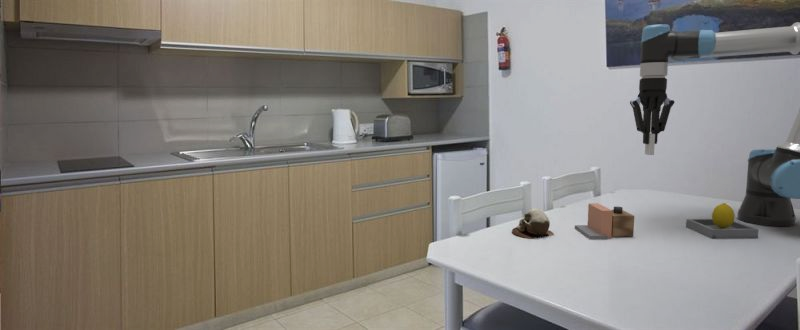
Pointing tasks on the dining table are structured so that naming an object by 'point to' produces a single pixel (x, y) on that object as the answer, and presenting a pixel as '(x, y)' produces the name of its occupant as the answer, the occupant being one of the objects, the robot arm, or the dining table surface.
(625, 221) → the wooden block with knob
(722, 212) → the lemon
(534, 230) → the skull
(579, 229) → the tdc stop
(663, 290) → the dining table surface
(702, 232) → the tray
